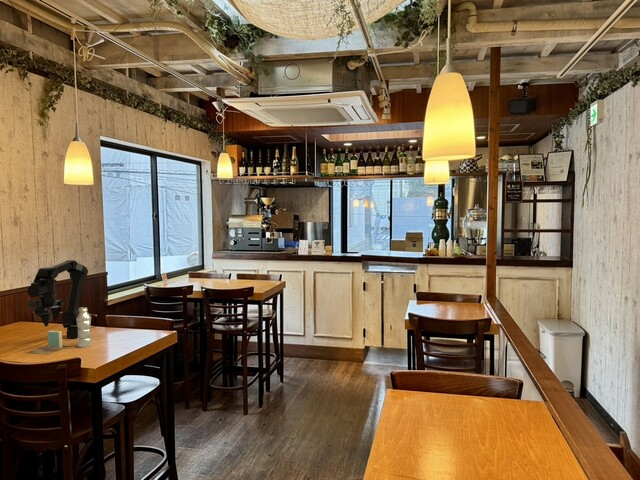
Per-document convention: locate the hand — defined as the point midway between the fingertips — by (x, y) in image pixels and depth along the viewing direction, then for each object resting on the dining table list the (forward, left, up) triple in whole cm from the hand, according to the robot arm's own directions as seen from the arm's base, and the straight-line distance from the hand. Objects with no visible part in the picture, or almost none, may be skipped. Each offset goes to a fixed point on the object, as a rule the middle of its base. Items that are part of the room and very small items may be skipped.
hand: (50, 323), depth 214 cm
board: (+4, +2, -12) cm, 13 cm away
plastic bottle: (-4, +16, -13) cm, 21 cm away
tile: (0, +2, -12) cm, 12 cm away
